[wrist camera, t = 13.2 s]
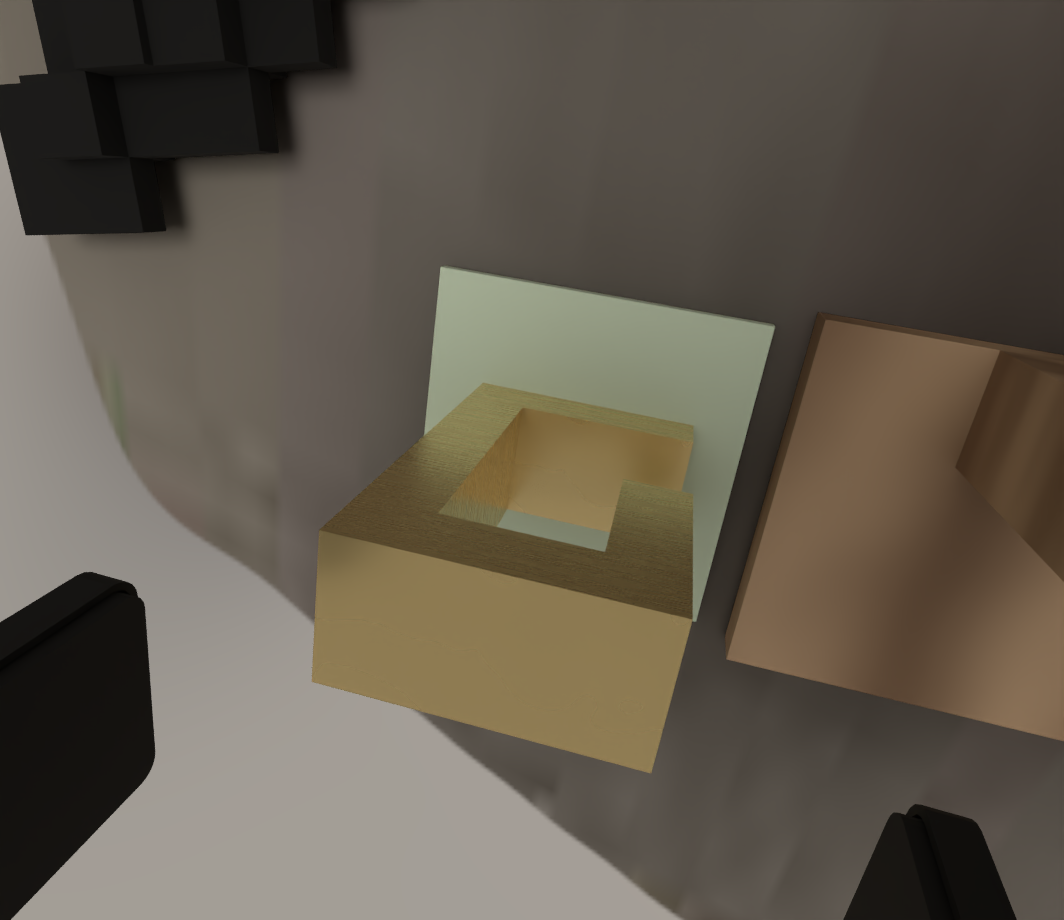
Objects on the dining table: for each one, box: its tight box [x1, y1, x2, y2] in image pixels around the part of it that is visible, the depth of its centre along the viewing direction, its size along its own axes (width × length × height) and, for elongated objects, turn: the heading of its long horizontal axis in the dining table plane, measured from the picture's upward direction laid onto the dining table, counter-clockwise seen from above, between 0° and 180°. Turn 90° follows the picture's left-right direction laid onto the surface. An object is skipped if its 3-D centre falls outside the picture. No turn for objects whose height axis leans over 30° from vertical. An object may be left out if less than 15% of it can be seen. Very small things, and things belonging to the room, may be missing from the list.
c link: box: [312, 383, 693, 773], centre depth 17 cm, size 6×3×10 cm, turn 81°
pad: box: [424, 265, 775, 622], centre depth 21 cm, size 9×9×1 cm
